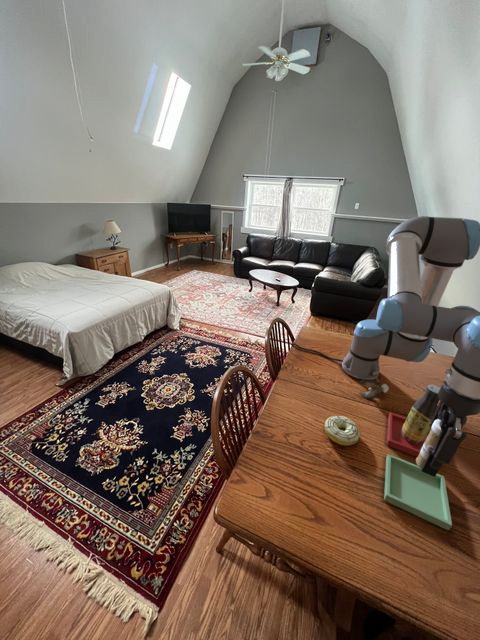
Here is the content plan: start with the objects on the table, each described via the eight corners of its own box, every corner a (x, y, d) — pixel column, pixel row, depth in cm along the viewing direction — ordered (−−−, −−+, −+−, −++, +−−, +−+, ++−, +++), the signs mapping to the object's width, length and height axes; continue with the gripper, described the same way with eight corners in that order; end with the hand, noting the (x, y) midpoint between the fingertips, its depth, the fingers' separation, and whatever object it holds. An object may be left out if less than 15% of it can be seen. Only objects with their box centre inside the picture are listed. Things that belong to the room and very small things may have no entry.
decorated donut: (363, 434, 86) (366, 425, 84) (350, 455, 79) (353, 446, 77) (332, 416, 92) (335, 408, 91) (318, 434, 85) (320, 426, 83)
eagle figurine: (369, 381, 110) (354, 383, 105) (383, 374, 104) (368, 375, 100) (378, 399, 106) (363, 402, 101) (393, 393, 101) (378, 395, 96)
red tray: (386, 445, 83) (388, 440, 82) (388, 416, 94) (389, 412, 93) (439, 465, 77) (441, 460, 76) (434, 432, 88) (436, 428, 87)
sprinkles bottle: (413, 466, 66) (433, 426, 60) (417, 454, 69) (435, 415, 63) (435, 478, 63) (458, 437, 57) (438, 465, 66) (459, 425, 60)
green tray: (383, 500, 67) (386, 495, 66) (386, 458, 78) (388, 453, 77) (448, 530, 62) (452, 525, 61) (441, 481, 73) (444, 476, 72)
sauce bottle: (396, 432, 86) (416, 383, 78) (409, 427, 89) (429, 378, 80) (414, 449, 81) (438, 398, 73) (428, 442, 83) (452, 392, 75)
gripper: (438, 363, 64) (408, 433, 74) (450, 408, 50) (410, 487, 60) (477, 373, 61) (440, 445, 71) (501, 424, 47) (451, 504, 57)
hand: (427, 464), depth 66 cm, fingers closed on sprinkles bottle, 4 cm apart
